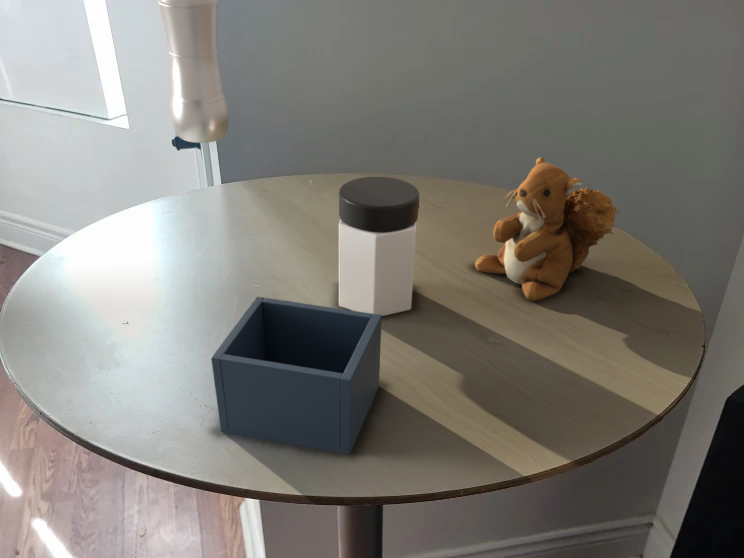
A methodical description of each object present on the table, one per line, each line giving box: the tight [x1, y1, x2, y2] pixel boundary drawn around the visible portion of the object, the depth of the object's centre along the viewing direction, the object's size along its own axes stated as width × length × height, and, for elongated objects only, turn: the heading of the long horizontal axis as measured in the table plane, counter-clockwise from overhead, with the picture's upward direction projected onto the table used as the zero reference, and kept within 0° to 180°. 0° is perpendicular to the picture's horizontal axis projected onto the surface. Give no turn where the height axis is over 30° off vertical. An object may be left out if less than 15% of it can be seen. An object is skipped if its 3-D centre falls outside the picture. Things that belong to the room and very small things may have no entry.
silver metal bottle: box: [157, 0, 230, 144], centre depth 82 cm, size 6×7×20 cm
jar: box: [338, 176, 420, 317], centre depth 82 cm, size 9×8×12 cm
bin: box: [210, 296, 383, 455], centre depth 68 cm, size 12×11×8 cm
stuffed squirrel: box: [474, 157, 621, 302], centre depth 87 cm, size 10×14×13 cm
